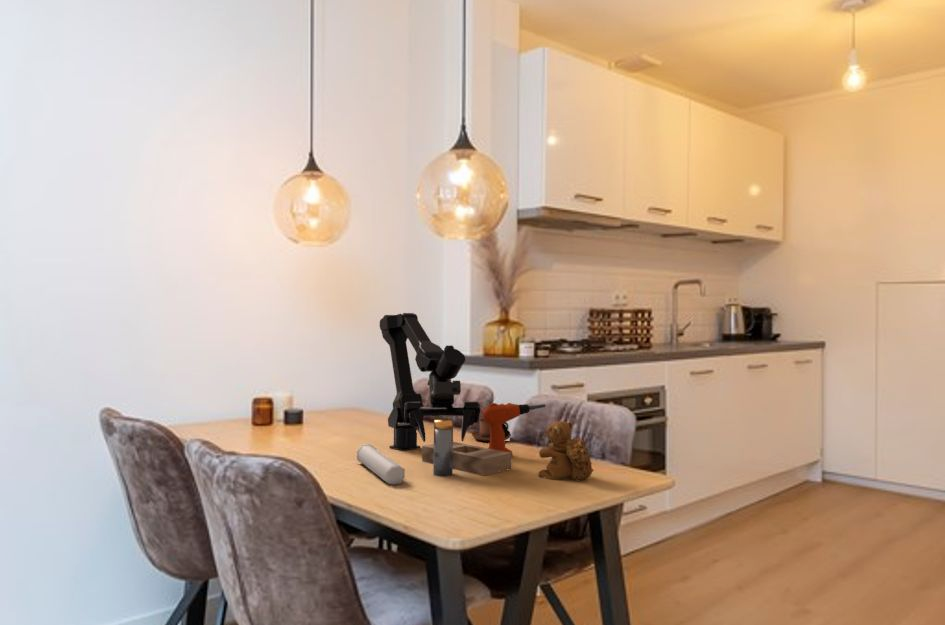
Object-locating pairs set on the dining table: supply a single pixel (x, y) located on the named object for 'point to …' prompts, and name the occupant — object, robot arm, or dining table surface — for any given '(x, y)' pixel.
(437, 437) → the metallic cylinder
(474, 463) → the grey hollow block
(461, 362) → the robot arm
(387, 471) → the tube
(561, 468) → the stuffed squirrel
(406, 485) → the dining table surface
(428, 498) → the dining table surface
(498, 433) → the toy drill
